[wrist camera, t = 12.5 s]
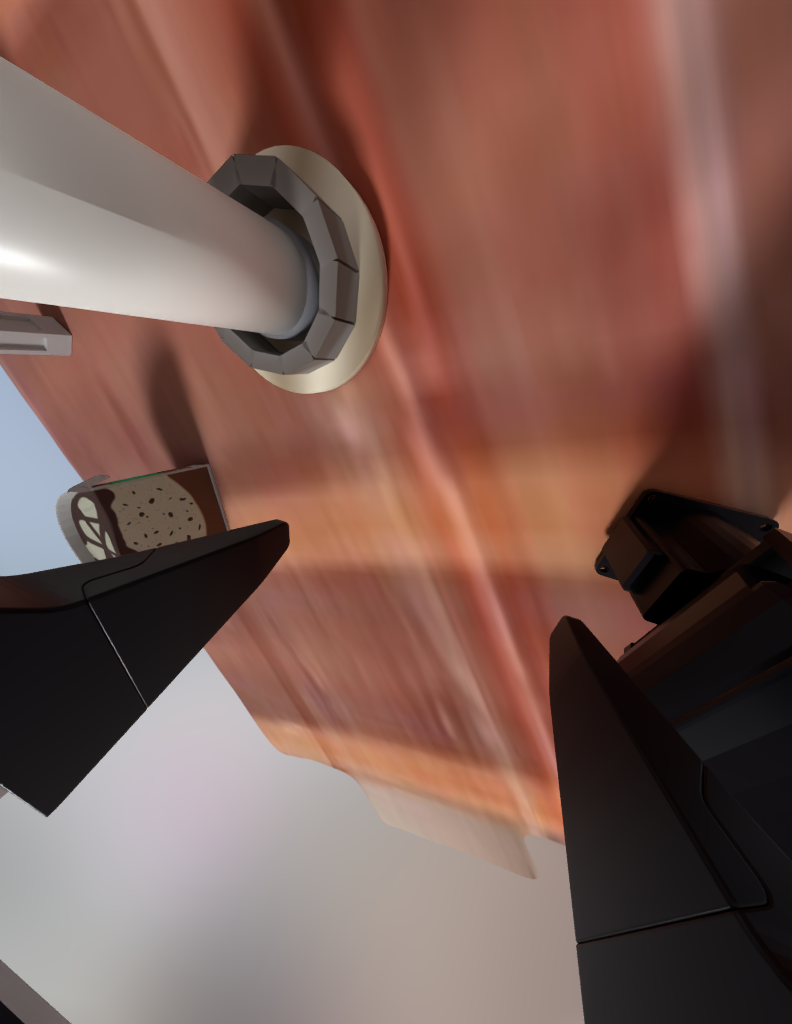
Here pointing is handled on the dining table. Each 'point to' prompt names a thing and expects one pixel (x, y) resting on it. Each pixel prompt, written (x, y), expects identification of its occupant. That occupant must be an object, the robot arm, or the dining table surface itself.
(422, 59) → the dining table surface
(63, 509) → the food container
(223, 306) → the white smooth rounded part
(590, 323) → the dining table surface
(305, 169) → the socket
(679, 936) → the robot arm
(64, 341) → the stool
